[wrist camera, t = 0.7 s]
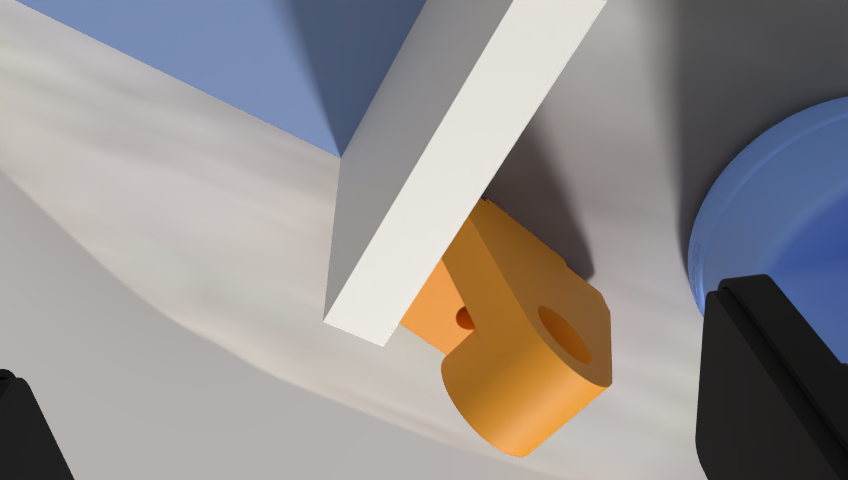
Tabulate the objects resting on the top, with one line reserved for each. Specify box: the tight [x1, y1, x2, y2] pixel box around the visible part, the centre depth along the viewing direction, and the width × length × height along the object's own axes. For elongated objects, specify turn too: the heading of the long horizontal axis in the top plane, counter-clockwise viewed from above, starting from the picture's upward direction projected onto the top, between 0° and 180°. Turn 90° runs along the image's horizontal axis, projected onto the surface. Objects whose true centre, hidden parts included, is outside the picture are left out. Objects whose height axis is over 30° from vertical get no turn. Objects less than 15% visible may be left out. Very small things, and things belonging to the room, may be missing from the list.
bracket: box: [399, 198, 612, 457], centre depth 36 cm, size 11×7×12 cm, turn 49°
